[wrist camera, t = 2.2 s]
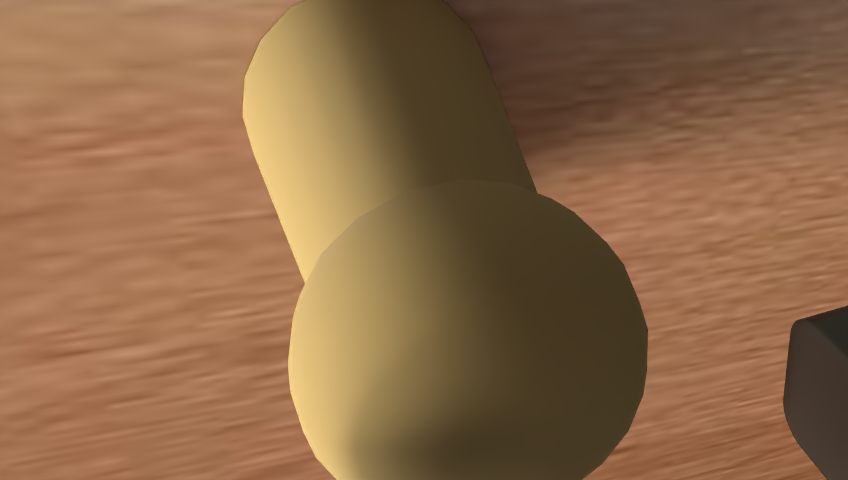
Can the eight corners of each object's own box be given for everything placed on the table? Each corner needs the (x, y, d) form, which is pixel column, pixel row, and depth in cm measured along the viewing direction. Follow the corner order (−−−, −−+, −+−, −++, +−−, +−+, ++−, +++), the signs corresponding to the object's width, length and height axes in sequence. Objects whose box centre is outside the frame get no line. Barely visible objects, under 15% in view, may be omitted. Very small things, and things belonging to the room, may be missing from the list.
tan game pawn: (218, 190, 20) (218, 587, 11) (275, -55, 17) (340, 201, 8) (443, 231, 22) (602, 593, 13) (526, 19, 19) (804, 288, 10)
